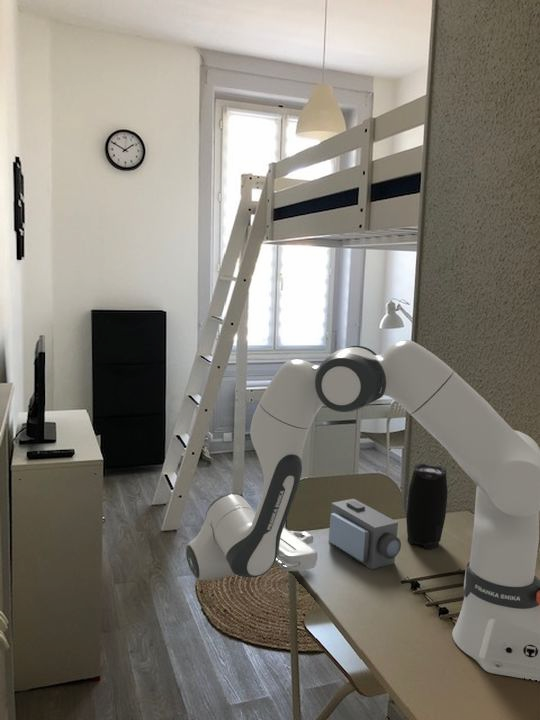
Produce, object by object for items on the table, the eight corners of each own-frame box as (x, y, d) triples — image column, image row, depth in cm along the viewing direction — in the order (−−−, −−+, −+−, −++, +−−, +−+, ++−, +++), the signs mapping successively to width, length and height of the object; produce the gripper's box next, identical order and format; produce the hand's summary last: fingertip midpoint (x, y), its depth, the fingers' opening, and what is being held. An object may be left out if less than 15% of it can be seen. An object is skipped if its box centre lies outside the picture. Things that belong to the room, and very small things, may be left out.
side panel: (368, 562, 139) (371, 532, 138) (364, 563, 138) (367, 533, 137) (332, 540, 149) (334, 512, 148) (328, 541, 148) (330, 513, 147)
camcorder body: (402, 568, 140) (406, 523, 138) (379, 574, 136) (383, 529, 134) (350, 535, 155) (353, 495, 154) (328, 541, 152) (331, 499, 150)
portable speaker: (399, 535, 157) (406, 462, 155) (433, 535, 159) (441, 462, 156) (411, 550, 149) (419, 473, 146) (447, 550, 150) (455, 473, 148)
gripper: (284, 554, 124) (338, 542, 131) (236, 516, 141) (286, 507, 148) (282, 583, 124) (336, 570, 132) (235, 542, 142) (284, 532, 149)
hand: (309, 536), depth 140 cm, fingers closed
